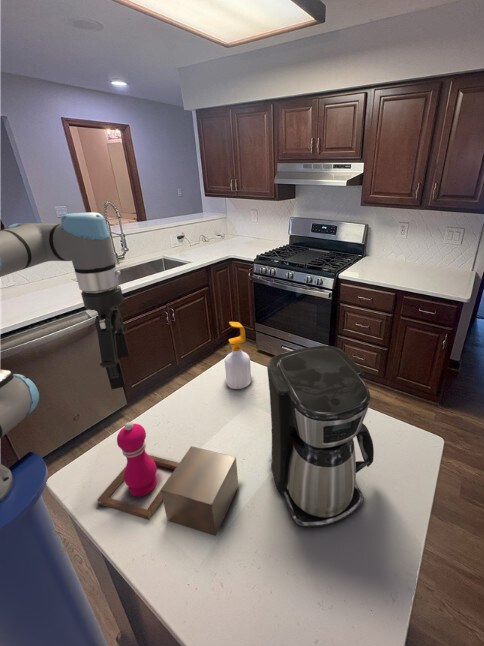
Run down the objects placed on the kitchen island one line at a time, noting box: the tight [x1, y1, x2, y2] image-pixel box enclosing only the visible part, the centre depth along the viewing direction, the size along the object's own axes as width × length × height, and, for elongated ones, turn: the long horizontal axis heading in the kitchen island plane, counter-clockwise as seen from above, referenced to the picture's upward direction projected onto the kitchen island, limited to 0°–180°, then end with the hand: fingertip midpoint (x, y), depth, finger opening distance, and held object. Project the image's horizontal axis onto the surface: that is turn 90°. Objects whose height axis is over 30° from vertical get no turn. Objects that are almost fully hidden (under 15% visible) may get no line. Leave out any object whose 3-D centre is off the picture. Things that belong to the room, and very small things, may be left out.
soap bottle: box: [224, 321, 252, 390], centre depth 112 cm, size 9×9×25 cm
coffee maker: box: [266, 345, 375, 528], centre depth 75 cm, size 23×32×34 cm
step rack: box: [96, 446, 239, 537], centre depth 74 cm, size 30×14×10 cm, turn 75°
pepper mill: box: [116, 421, 158, 498], centre depth 74 cm, size 7×7×20 cm
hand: (121, 370), depth 75 cm, fingers open, 13 cm apart
